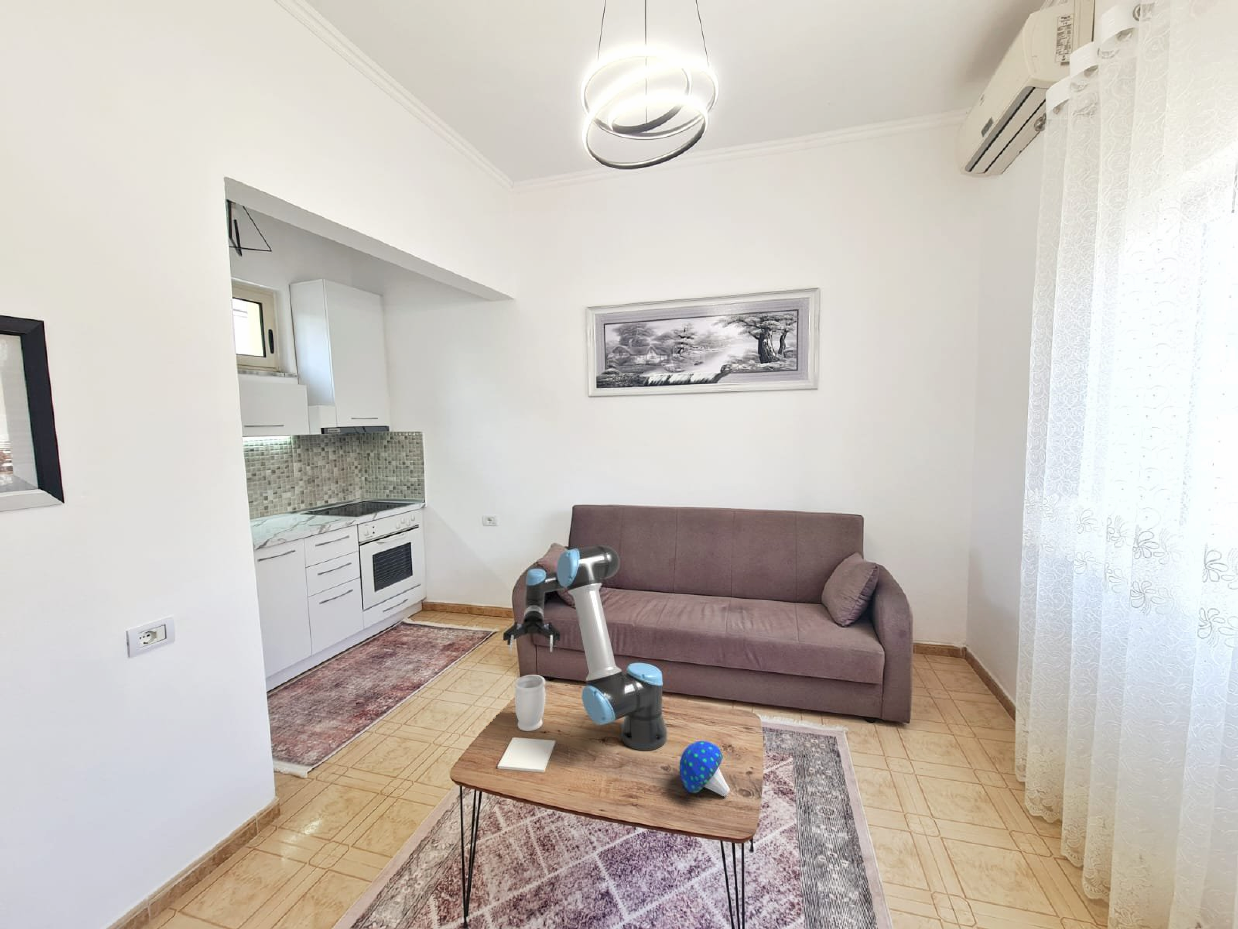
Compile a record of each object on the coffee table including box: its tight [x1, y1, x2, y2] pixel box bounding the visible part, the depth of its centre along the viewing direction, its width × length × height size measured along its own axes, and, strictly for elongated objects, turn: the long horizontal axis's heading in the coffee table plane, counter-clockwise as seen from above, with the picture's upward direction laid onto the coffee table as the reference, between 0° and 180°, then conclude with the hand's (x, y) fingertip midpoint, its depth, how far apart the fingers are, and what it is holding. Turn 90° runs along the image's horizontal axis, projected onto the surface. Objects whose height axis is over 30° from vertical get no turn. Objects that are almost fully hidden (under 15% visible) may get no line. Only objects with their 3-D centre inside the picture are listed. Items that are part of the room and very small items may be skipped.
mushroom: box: [679, 740, 731, 798], centre depth 137 cm, size 14×14×15 cm
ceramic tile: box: [497, 737, 556, 773], centre depth 151 cm, size 14×14×1 cm
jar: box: [514, 674, 547, 732], centre depth 167 cm, size 11×10×15 cm
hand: (531, 648), depth 168 cm, fingers open, 13 cm apart
